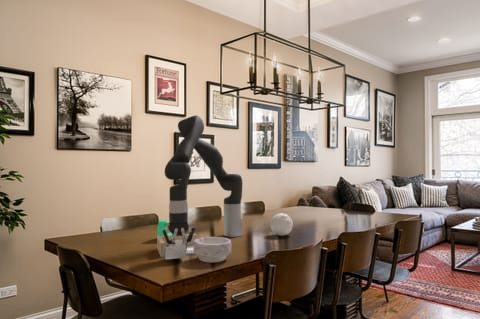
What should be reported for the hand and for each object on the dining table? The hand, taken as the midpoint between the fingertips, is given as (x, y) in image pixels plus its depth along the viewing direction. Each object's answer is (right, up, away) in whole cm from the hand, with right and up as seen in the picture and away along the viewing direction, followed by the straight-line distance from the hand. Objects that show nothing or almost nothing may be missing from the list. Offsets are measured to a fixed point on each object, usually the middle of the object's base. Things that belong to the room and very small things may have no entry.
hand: (178, 252), depth 153 cm
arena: (-2, -2, +12) cm, 12 cm away
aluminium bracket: (-1, 0, -3) cm, 3 cm away
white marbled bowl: (+14, -2, -3) cm, 15 cm away
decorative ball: (+48, -3, +48) cm, 68 cm away
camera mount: (-12, -3, +38) cm, 40 cm away
